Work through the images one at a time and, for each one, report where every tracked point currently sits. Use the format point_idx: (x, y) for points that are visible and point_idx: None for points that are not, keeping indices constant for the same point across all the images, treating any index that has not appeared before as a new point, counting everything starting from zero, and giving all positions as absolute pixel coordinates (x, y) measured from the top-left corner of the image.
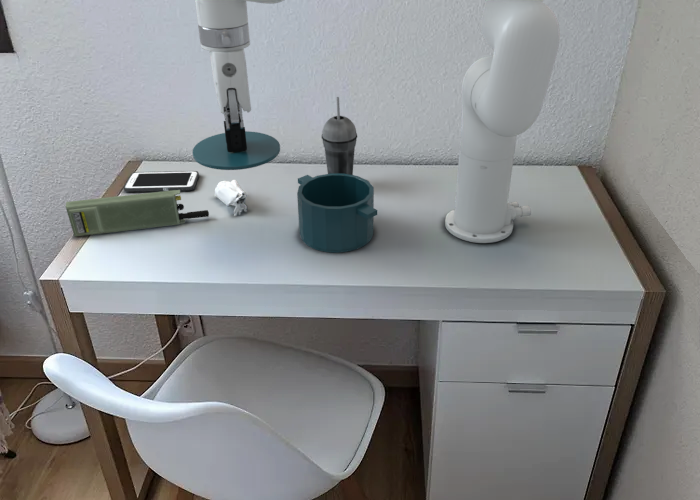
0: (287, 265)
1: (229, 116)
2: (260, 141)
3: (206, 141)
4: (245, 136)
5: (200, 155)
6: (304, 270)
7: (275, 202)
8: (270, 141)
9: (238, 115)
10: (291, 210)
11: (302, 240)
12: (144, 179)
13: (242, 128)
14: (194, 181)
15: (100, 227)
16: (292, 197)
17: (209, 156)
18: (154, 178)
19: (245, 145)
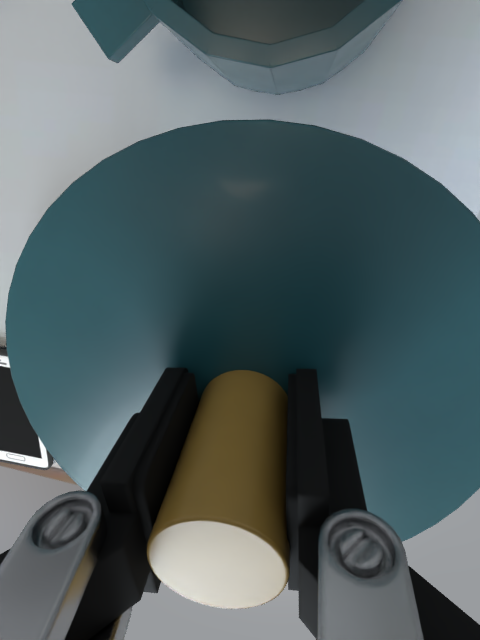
0: (422, 146)
1: (119, 605)
2: (162, 268)
3: None
4: (320, 432)
5: None
6: (467, 95)
7: (81, 160)
8: (169, 196)
9: (96, 552)
10: (127, 113)
11: (304, 88)
12: (10, 440)
13: (390, 536)
14: (7, 356)
15: None
16: (50, 104)
17: None
18: (4, 425)
19: (317, 390)
